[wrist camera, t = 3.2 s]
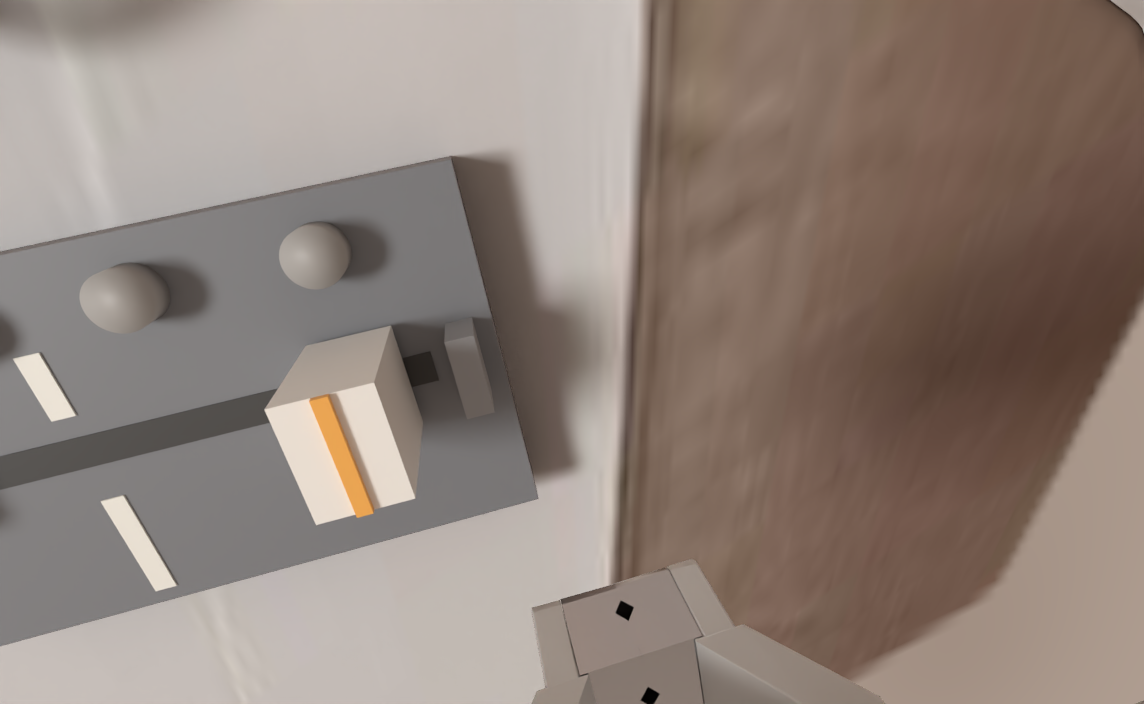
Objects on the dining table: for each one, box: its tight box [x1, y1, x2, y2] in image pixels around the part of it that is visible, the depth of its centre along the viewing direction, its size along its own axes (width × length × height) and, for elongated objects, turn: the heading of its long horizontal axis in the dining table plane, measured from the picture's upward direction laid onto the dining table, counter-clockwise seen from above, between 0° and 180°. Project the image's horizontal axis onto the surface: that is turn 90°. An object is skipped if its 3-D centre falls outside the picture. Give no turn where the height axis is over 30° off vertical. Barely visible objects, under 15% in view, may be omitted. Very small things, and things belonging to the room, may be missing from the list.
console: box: [0, 156, 538, 646], centre depth 21 cm, size 22×14×4 cm, turn 101°
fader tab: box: [264, 326, 423, 525], centre depth 19 cm, size 3×4×5 cm
